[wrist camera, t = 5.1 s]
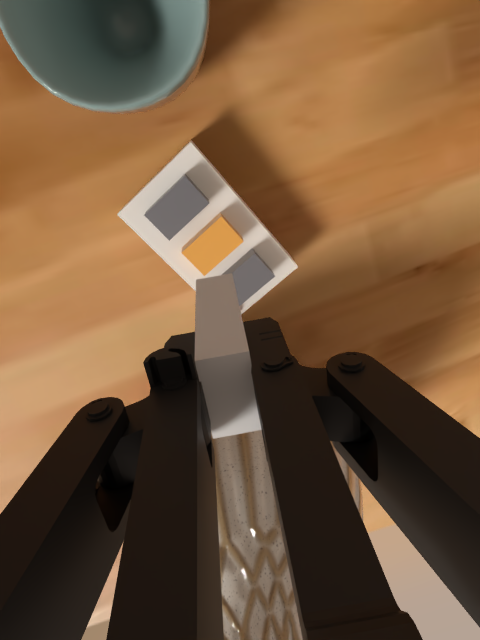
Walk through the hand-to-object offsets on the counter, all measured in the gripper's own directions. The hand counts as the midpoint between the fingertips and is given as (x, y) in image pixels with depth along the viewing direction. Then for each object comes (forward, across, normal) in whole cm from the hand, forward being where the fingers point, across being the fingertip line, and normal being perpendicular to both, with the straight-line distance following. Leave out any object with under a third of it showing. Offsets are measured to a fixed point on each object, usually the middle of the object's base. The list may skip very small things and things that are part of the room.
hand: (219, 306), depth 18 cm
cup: (+12, -2, +12) cm, 17 cm away
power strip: (+13, 0, 0) cm, 13 cm away
